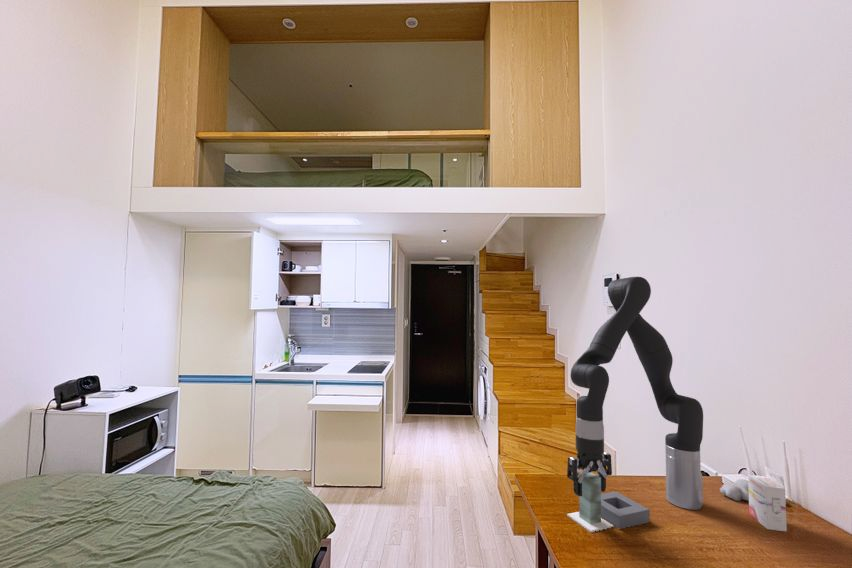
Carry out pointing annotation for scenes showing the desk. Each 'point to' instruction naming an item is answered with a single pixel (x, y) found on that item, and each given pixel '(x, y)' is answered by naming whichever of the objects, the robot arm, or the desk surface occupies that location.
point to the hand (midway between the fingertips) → (589, 492)
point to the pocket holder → (622, 510)
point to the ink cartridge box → (768, 500)
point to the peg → (590, 499)
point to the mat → (590, 527)
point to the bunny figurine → (736, 490)
